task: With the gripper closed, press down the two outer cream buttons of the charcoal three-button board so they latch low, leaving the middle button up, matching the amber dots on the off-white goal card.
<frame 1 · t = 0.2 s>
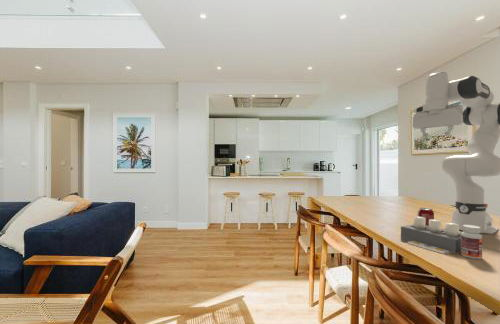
hand: (436, 136, 124), 47 cm above the table, fingers open, 8 cm apart
button b: (434, 227, 114), point 7 cm above the table, slide at 0.0 cm
button a: (419, 224, 120), point 7 cm above the table, slide at 0.0 cm
soda can: (425, 233, 131), on the table
board: (434, 243, 114), on the table
goal card: (427, 247, 108), on the table
button c: (451, 231, 108), point 7 cm above the table, slide at 0.0 cm
pill bottle: (471, 256, 99), on the table
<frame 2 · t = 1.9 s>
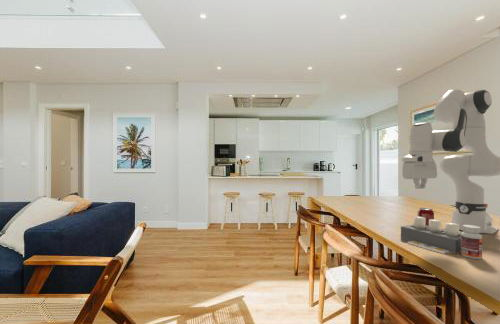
hand: (420, 188, 120), 23 cm above the table, fingers closed
nothing on the table moved.
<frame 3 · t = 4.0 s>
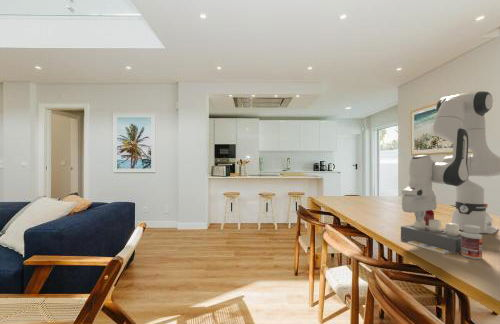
hand: (419, 220, 119), 8 cm above the table, fingers closed, pressing on button a
button a: (419, 227, 120), point 5 cm above the table, slide at -1.5 cm, touching gripper
everything else where it was.
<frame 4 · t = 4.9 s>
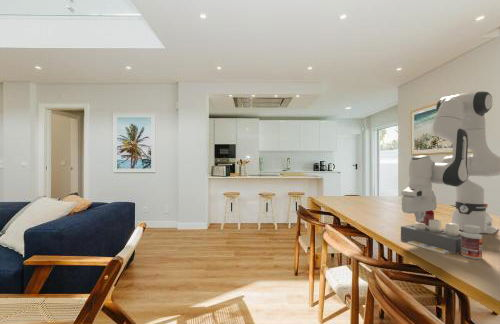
hand: (419, 221, 120), 8 cm above the table, fingers closed
button a: (419, 230, 120), point 4 cm above the table, slide at -2.8 cm
everything else where it was.
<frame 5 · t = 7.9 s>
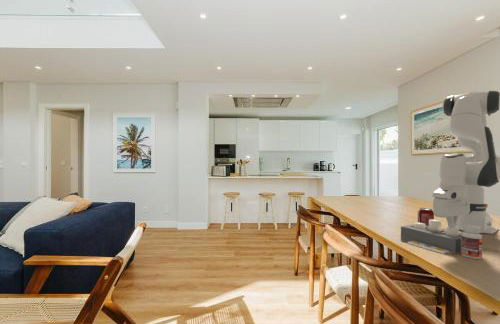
hand: (452, 226, 108), 9 cm above the table, fingers closed, pressing on button c
button c: (451, 233, 108), point 6 cm above the table, slide at -1.1 cm, touching gripper
everything else where it was.
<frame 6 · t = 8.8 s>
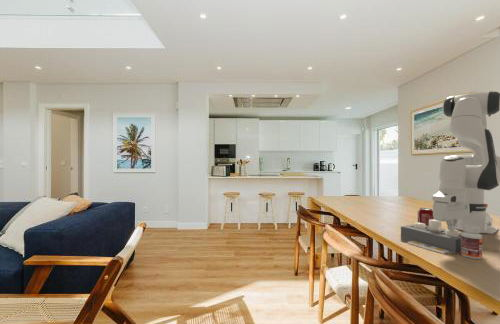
hand: (451, 229, 108), 7 cm above the table, fingers closed
button c: (451, 237, 108), point 4 cm above the table, slide at -2.7 cm
everything else where it was.
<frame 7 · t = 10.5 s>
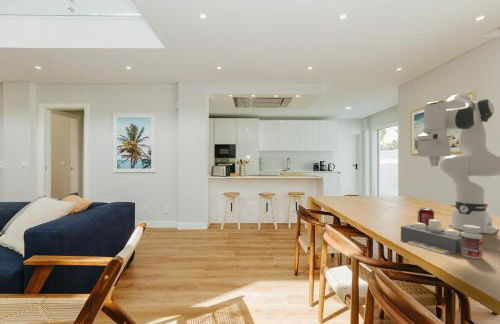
hand: (434, 166, 122), 33 cm above the table, fingers closed
nothing on the table moved.
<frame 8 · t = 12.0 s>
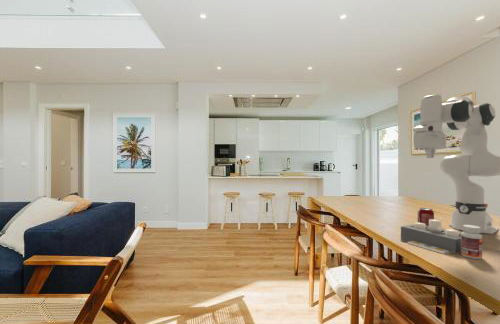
hand: (430, 158, 125), 37 cm above the table, fingers closed
nothing on the table moved.
at the end: button a slide at -2.8 cm; button c slide at -2.7 cm; button b slide at 0.0 cm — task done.
